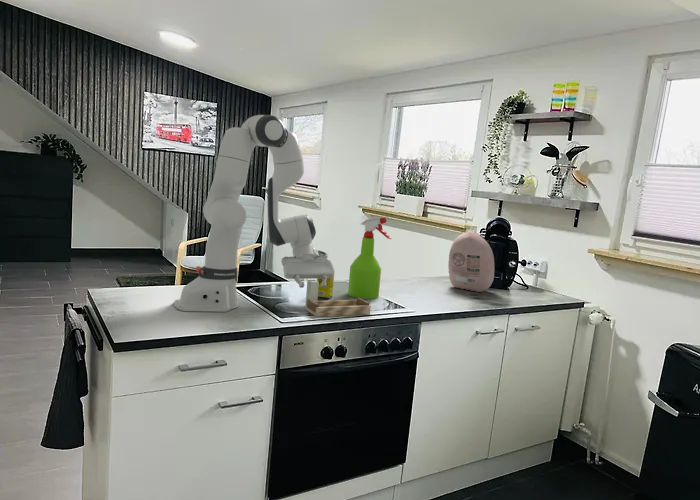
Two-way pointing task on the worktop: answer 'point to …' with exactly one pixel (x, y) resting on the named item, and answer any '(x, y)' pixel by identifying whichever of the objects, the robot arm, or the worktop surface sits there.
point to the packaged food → (471, 263)
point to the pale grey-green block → (312, 290)
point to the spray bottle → (367, 264)
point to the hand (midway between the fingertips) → (313, 286)
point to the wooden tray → (338, 307)
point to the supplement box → (325, 288)
